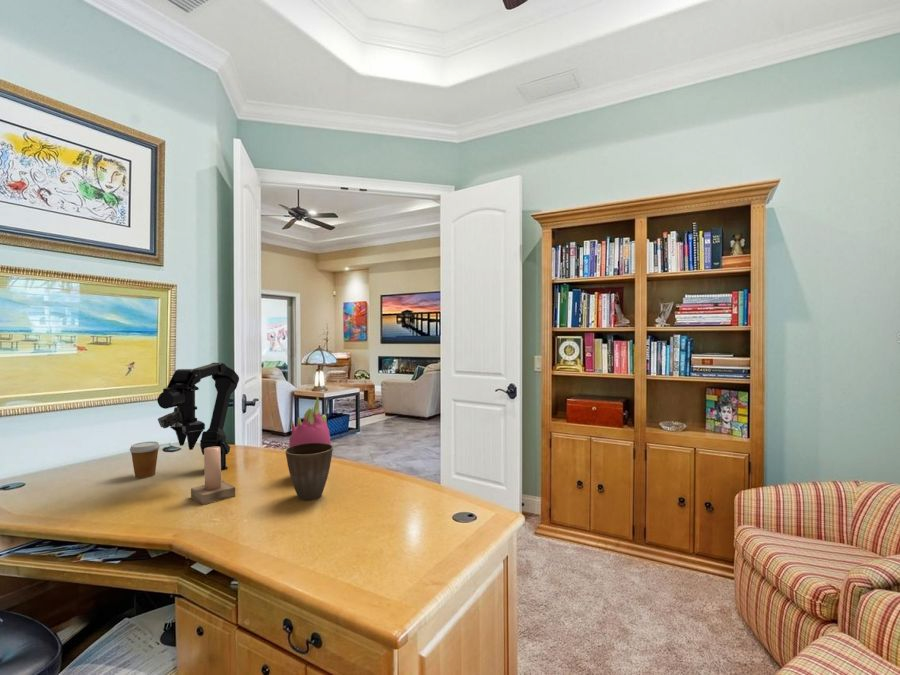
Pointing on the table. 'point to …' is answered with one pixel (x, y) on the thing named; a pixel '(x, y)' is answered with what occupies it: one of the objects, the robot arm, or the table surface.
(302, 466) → the plant pot
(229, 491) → the base
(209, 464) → the pillar
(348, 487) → the table surface
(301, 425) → the pink dragon fruit
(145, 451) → the disposable coffee cup
